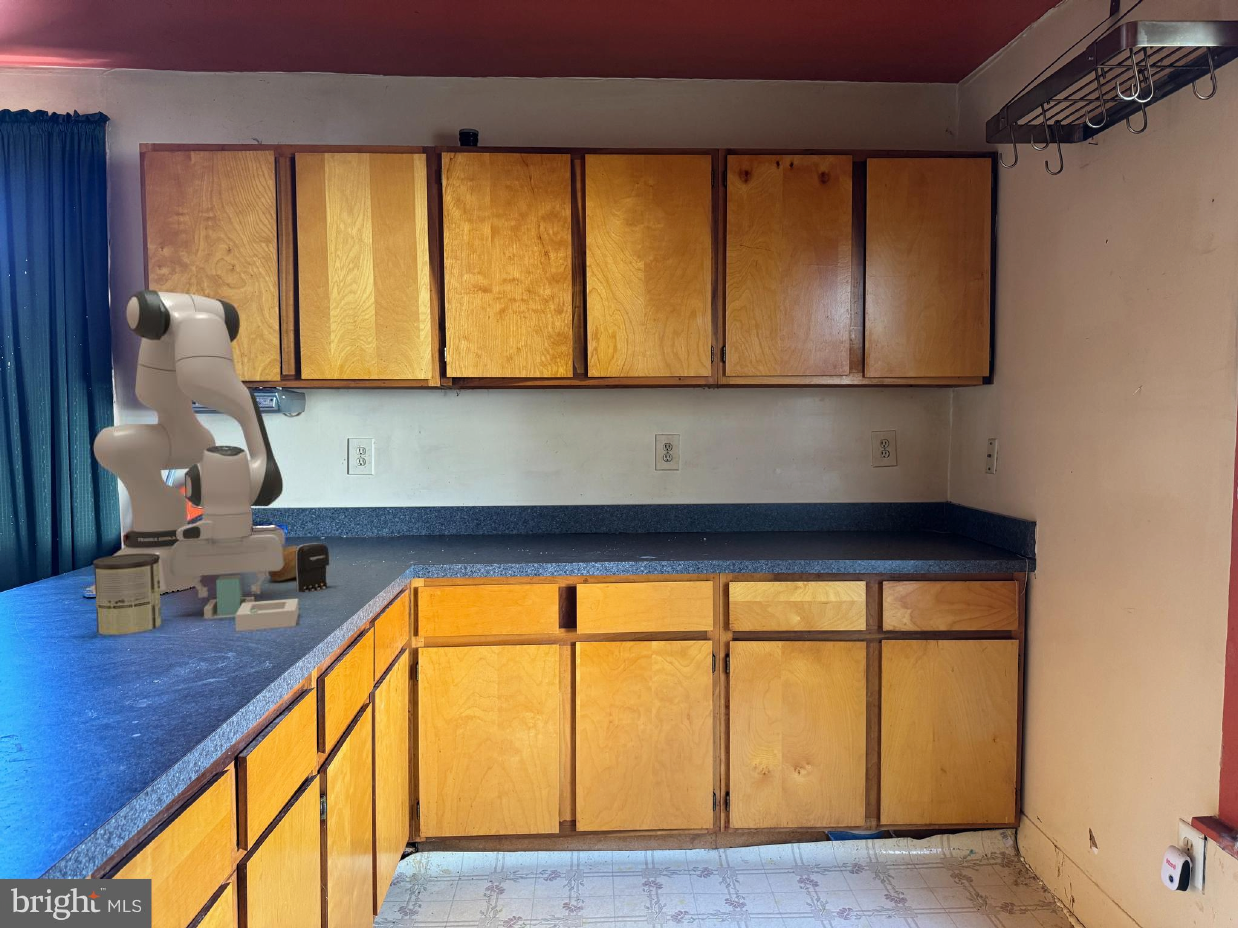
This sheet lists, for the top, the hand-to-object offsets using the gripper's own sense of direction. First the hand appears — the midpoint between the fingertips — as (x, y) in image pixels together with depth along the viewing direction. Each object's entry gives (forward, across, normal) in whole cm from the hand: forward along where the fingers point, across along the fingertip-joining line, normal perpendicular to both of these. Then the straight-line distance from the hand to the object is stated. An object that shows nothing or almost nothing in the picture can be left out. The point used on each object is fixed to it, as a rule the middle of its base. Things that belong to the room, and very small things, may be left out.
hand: (229, 595), depth 151 cm
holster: (+4, 0, 0) cm, 4 cm away
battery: (+5, -15, -17) cm, 23 cm away
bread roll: (+5, -9, -39) cm, 40 cm away
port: (+4, -8, +11) cm, 14 cm away
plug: (+3, 0, 0) cm, 3 cm away
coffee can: (+5, +16, +6) cm, 18 cm away
